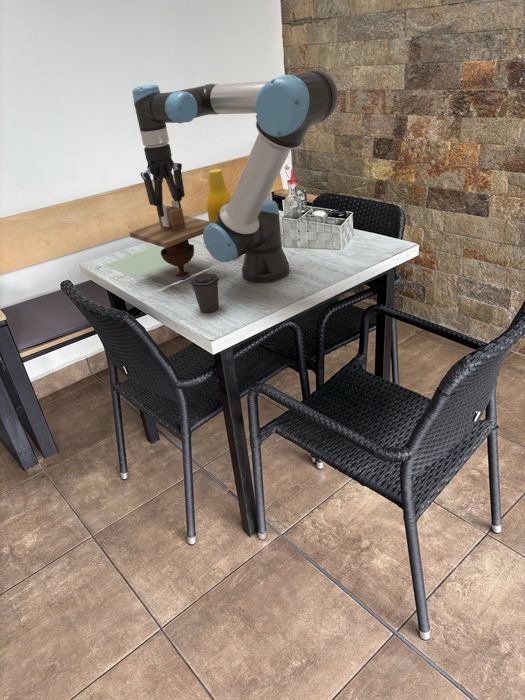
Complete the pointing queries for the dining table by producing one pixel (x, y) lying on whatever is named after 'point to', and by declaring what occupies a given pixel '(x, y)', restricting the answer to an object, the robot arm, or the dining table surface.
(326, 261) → the dining table surface
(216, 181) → the yellow bottle
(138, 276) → the green mat
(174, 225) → the walnut cover
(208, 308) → the coffee cup
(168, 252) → the ice cream bowl
